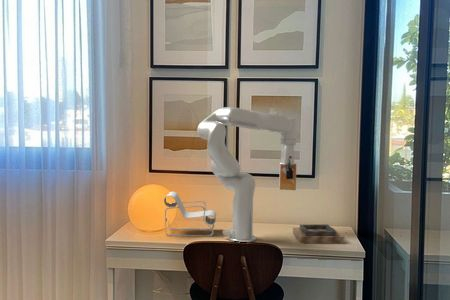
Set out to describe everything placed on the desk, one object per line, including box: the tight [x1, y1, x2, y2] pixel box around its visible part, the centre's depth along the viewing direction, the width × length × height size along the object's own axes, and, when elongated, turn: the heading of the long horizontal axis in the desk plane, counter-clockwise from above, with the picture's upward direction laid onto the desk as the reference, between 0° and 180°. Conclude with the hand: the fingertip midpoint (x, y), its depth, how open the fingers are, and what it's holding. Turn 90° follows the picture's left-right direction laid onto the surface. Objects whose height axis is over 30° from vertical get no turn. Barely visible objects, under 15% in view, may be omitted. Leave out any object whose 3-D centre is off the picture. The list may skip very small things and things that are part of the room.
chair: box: [163, 191, 217, 237], centre depth 219 cm, size 13×25×20 cm, turn 90°
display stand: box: [292, 224, 345, 244], centre depth 211 cm, size 20×18×5 cm
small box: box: [279, 162, 297, 191], centre depth 220 cm, size 8×6×13 cm
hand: (287, 177), depth 220 cm, fingers closed on small box, 7 cm apart
